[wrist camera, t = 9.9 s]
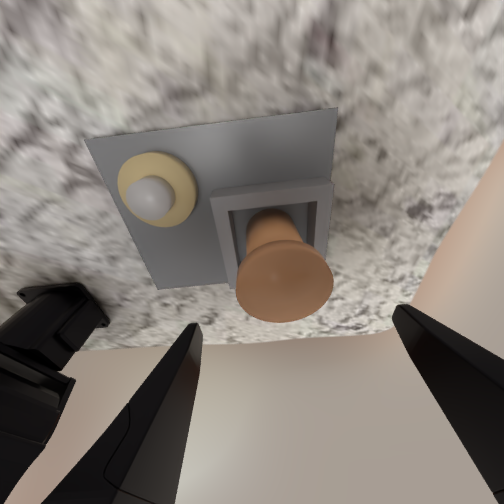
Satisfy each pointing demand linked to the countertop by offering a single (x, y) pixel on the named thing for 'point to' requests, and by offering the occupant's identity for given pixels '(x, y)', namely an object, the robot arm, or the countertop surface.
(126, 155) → the housing
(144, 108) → the countertop surface
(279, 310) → the tan flared peg
